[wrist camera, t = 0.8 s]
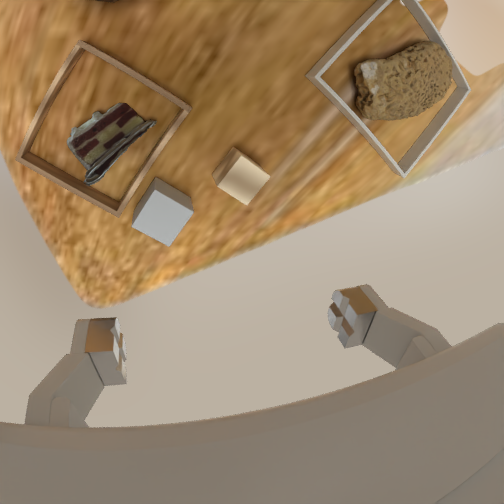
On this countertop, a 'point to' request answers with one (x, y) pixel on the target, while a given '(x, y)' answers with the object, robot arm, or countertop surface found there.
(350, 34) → the grey square frame
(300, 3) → the countertop surface
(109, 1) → the ceramic cup
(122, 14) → the countertop surface
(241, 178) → the maple block
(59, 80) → the oak cake frame
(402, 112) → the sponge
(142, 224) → the slate block
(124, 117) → the chocolate cake
